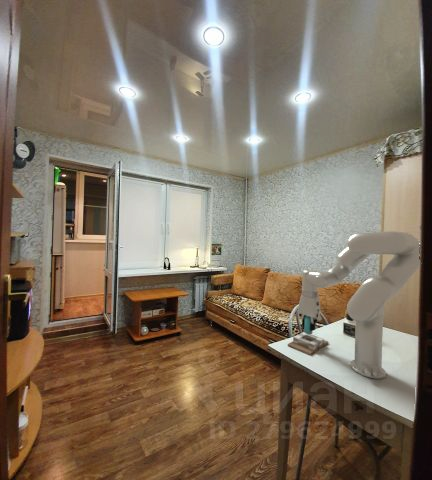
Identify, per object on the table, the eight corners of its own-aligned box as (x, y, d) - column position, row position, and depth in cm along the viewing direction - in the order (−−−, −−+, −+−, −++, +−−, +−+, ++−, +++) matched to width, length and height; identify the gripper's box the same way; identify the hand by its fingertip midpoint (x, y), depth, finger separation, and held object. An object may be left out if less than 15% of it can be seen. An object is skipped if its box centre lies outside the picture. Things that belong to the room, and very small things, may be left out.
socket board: (310, 355, 106) (310, 348, 106) (287, 345, 115) (287, 339, 115) (328, 343, 119) (328, 336, 119) (306, 335, 128) (306, 329, 128)
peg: (312, 334, 114) (312, 319, 114) (303, 333, 116) (304, 317, 116) (312, 331, 118) (313, 316, 118) (304, 330, 120) (304, 315, 120)
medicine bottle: (342, 333, 132) (343, 313, 132) (347, 330, 136) (347, 311, 136) (356, 338, 126) (357, 317, 126) (360, 334, 131) (361, 314, 131)
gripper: (329, 296, 112) (327, 333, 112) (300, 289, 126) (298, 322, 126) (320, 298, 108) (319, 336, 108) (291, 291, 122) (290, 324, 122)
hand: (308, 328), depth 117 cm, fingers closed on peg, 4 cm apart
